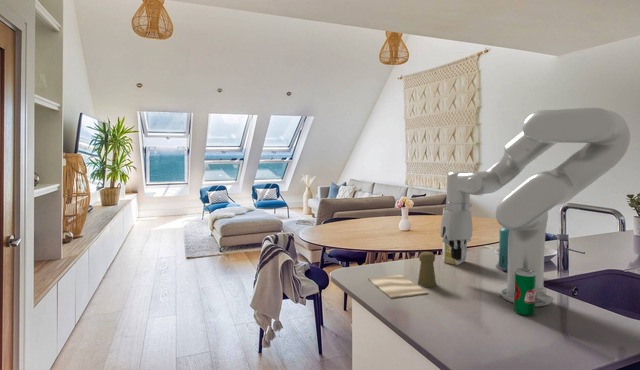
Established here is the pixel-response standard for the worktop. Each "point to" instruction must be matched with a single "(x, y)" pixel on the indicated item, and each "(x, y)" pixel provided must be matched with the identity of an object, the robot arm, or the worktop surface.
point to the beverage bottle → (503, 248)
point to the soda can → (524, 291)
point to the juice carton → (447, 252)
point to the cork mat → (397, 286)
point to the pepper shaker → (427, 270)
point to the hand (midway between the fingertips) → (456, 258)
